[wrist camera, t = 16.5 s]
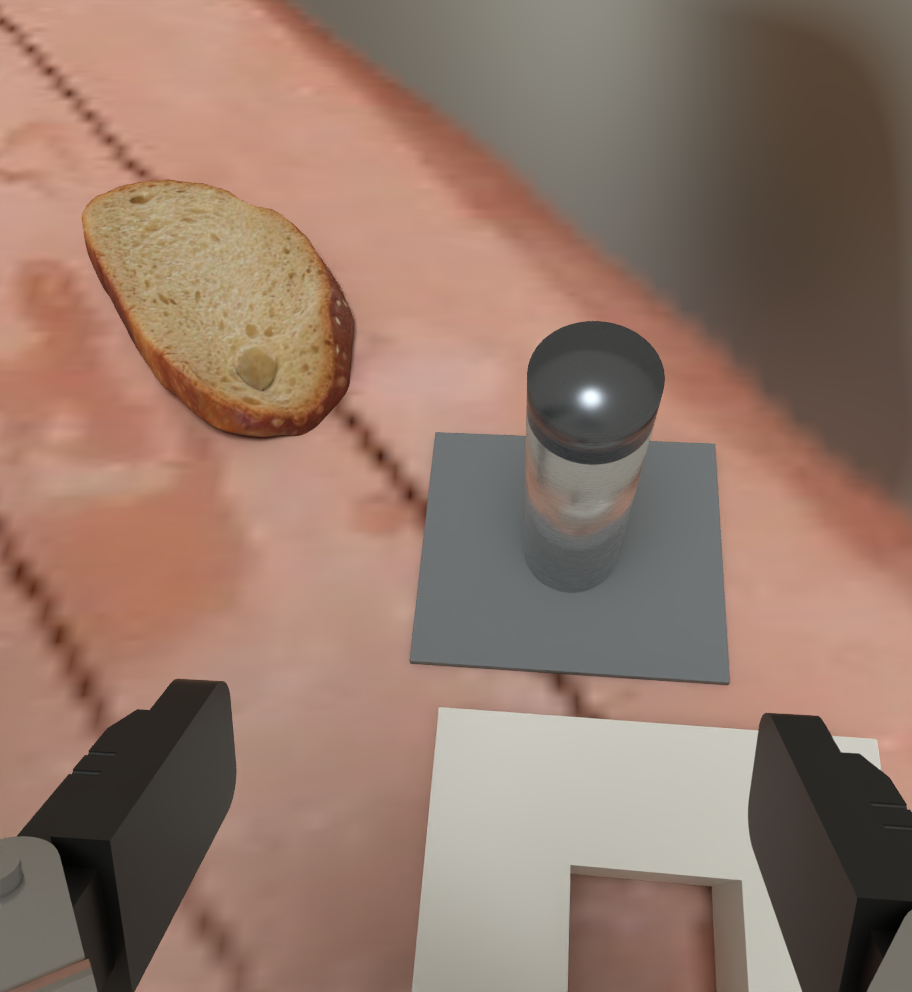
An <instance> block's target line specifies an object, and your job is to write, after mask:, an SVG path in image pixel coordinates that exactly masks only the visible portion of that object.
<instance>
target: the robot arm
mask: <svg viewBox="0 0 912 992" xmlns="http://www.w3.org/2000/svg"><path fill="white" fill-rule="evenodd" d="M235 783H236V758H235V746H234V735H233V723H232V712H231V700H230V692H229V688H228V686H227V684H226V683H225V682H223V681H207V680H189V679H175V680H174V681H173V682H172V683H171V684H170V685H169V686H168V687H167V689H166V690H165V691H164V693H163V694H162V695H161V696H160V698H159V699H158V700H157V701H156V703H155V704H154V705H153V707H152V708H151V709H150V710H139V709H137V710H136V711H134V712H132V713H131V714H129V715H128V716H126V717H125V718H123V719H121V720H120V721H118V722H117V723H115V724H113V725H112V726H110V727H109V728H107V730H106V731H105V732H104V733H103V734H102V736H101V737H100V738H99V739H98V740H97V741H96V743H95V744H94V745H93V746H92V747H91V749H90V750H89V754H88V755H85V756H84V757H83V758H82V759H81V760H80V762H79V763H78V764H77V765H76V766H75V768H74V769H73V773H72V774H69V775H68V776H67V777H66V778H65V779H64V781H63V782H62V783H61V784H60V785H59V787H58V788H57V789H56V790H55V791H54V793H53V794H52V795H51V796H50V797H49V799H48V800H47V801H46V802H45V803H44V804H43V806H42V807H41V808H40V809H39V810H38V812H37V813H36V814H35V815H34V816H33V818H32V819H31V820H30V821H29V822H28V823H27V825H26V826H25V827H24V828H23V829H22V831H21V832H20V833H19V834H18V835H17V837H10V838H4V839H0V992H134V991H135V990H136V988H137V986H138V984H139V982H140V980H141V978H142V976H143V974H144V972H145V970H146V968H147V966H148V964H149V963H150V961H151V959H152V957H153V955H154V953H155V951H156V949H157V947H158V945H159V943H160V941H161V939H162V938H163V936H164V934H165V932H166V930H167V928H168V926H169V924H170V922H171V920H172V918H173V916H174V914H175V912H176V911H177V909H178V907H179V905H180V903H181V901H182V899H183V897H184V895H185V893H186V891H187V889H188V887H189V886H190V884H191V882H192V880H193V878H194V876H195V874H196V872H197V870H198V868H199V866H200V864H201V862H202V861H203V859H204V857H205V855H206V853H207V851H208V849H209V847H210V845H211V843H212V841H213V839H214V837H215V835H216V834H217V832H218V830H219V828H220V826H221V824H222V822H223V820H224V818H225V816H226V814H227V812H228V810H229V808H230V805H231V802H232V799H233V795H234V790H235ZM906 805H907V804H906V803H905V801H904V800H903V798H902V796H901V795H900V793H899V792H898V790H897V789H896V787H895V785H894V784H893V782H892V781H891V779H890V778H889V777H888V776H887V775H886V774H884V773H883V772H882V771H881V770H879V769H878V768H877V767H876V766H874V765H873V764H872V763H871V762H869V761H868V760H867V759H866V758H864V757H863V756H862V755H861V754H859V753H843V752H841V751H840V750H839V748H838V746H837V744H836V743H835V741H834V739H833V737H832V736H831V734H830V732H829V731H828V729H827V727H826V725H825V724H824V722H823V720H822V719H821V718H820V717H819V716H812V715H794V714H776V713H765V714H764V715H763V716H762V718H761V721H760V724H759V730H758V737H757V744H756V751H755V758H754V765H753V772H752V780H751V787H750V794H749V801H748V827H749V835H750V841H751V845H752V848H753V852H754V854H755V857H756V860H757V863H758V866H759V869H760V872H761V875H762V877H763V880H764V883H765V886H766V889H767V892H768V895H769V898H770V901H771V903H772V906H773V909H774V912H775V915H776V918H777V921H778V924H779V926H780V929H781V932H782V935H783V938H784V941H785V944H786V947H787V949H788V952H789V955H790V958H791V961H792V964H793V967H794V970H795V973H796V975H797V978H798V981H799V984H800V987H801V990H802V992H912V812H911V811H910V810H907V807H906Z"/></svg>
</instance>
